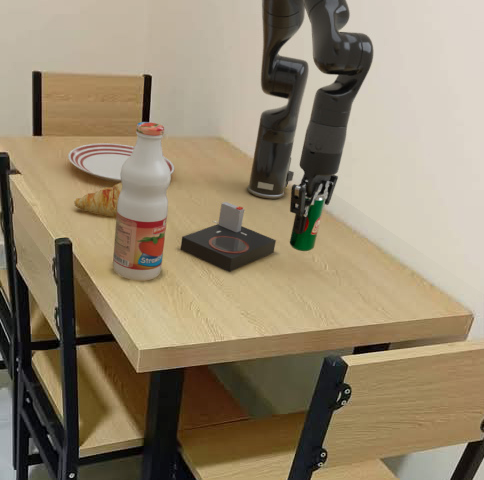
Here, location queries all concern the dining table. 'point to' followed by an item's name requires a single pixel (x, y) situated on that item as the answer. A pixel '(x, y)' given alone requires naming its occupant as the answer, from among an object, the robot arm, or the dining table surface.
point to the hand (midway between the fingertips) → (305, 228)
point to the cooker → (201, 249)
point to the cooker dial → (231, 216)
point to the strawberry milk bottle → (142, 207)
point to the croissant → (101, 201)
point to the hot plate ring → (228, 244)
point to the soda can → (309, 226)
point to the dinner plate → (104, 160)
